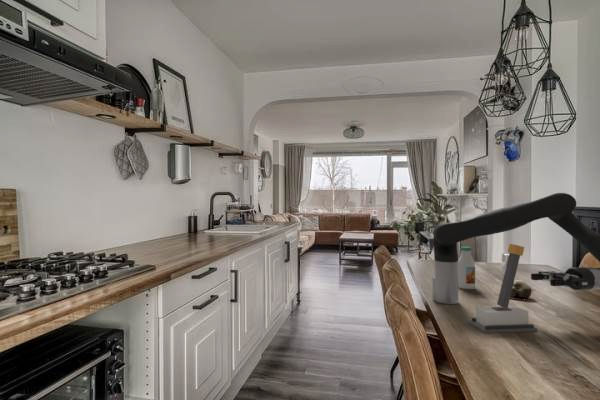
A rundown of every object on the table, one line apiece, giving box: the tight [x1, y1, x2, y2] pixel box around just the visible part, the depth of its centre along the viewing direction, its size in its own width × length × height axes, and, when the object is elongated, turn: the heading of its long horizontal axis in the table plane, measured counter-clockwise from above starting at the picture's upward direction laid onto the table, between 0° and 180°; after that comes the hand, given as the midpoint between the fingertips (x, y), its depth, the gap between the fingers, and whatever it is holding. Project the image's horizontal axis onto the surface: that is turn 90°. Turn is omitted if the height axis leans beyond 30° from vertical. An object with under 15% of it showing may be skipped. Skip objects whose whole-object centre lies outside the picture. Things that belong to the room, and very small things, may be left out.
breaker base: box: [468, 305, 538, 334], centre depth 115 cm, size 18×9×6 cm, turn 94°
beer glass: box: [501, 252, 517, 281], centre depth 176 cm, size 7×7×15 cm
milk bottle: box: [458, 246, 476, 290], centre depth 168 cm, size 8×8×20 cm
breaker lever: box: [496, 243, 525, 308], centre depth 115 cm, size 3×3×21 cm
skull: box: [510, 279, 532, 302], centre depth 151 cm, size 12×10×10 cm
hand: (541, 279), depth 116 cm, fingers open, 8 cm apart
